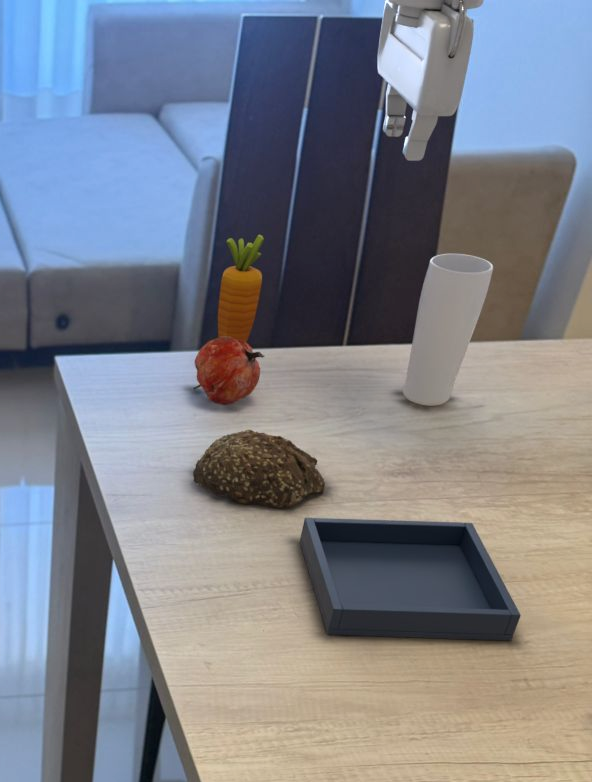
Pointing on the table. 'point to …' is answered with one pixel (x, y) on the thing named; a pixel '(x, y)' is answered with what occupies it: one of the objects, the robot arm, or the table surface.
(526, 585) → the table surface
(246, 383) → the pomegranate
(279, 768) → the table surface
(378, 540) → the dark blue-gray tray
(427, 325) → the white cup
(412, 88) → the robot arm
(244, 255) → the carrot
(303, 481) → the bread roll
